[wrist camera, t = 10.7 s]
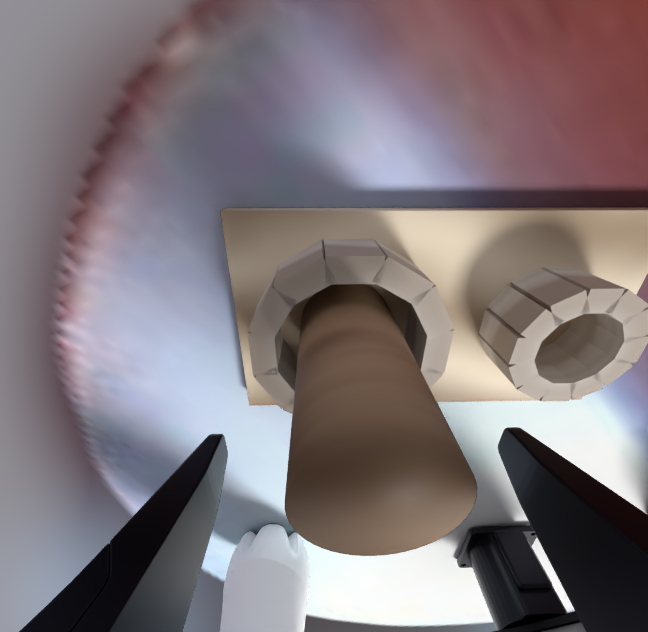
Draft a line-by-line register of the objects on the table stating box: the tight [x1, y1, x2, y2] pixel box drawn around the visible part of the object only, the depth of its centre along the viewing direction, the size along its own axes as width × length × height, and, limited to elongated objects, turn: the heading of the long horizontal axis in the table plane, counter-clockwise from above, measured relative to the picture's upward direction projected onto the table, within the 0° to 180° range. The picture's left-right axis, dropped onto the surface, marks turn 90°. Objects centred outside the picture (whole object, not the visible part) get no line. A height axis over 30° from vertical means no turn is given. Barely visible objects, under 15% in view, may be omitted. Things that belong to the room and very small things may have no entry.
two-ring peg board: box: [220, 207, 648, 414], centre depth 16 cm, size 12×22×4 cm, turn 90°
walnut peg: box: [285, 284, 477, 556], centre depth 12 cm, size 5×5×10 cm
